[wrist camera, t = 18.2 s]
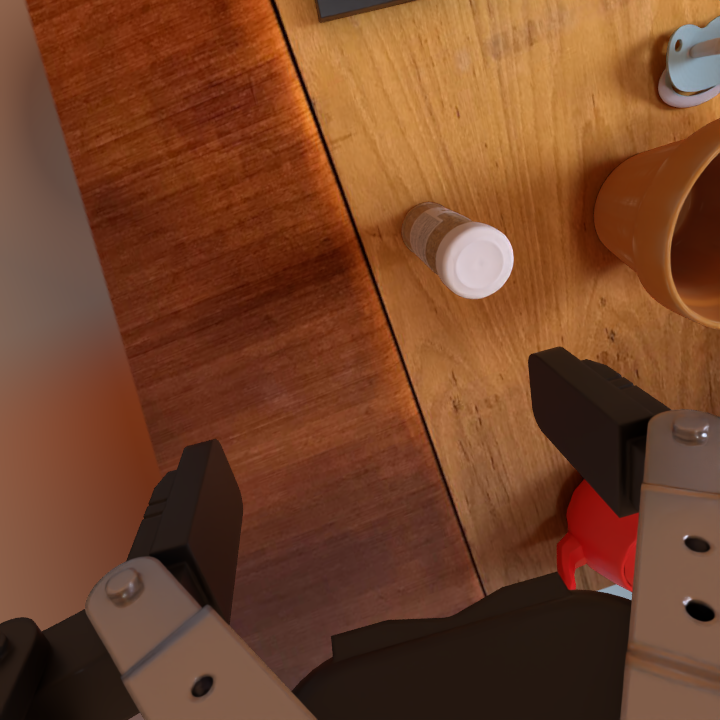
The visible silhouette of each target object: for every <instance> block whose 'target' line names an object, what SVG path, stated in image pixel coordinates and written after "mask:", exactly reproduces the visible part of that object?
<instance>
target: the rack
mask: <svg viewBox="0 0 720 720" xmlns="http://www.w3.org/2000/svg"><path fill="white" fill-rule="evenodd" d="M411 1H415V0H315V3H316V8H317V12H318V17H319V22H320V23H322V22H326V21H330V20H334V19H339V18H343V17H347V16H351V15H356V14H360V13H364V12H368V11H372V10H377V9H381V8H385V7H389V6H394V5H398V4H402V3H406V2H411Z"/></svg>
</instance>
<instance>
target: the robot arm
mask: <svg viewBox="0 0 720 720" xmlns="http://www.w3.org/2000/svg"><path fill="white" fill-rule="evenodd" d="M528 367H529V378H530V388H531V399H532V409H533V413H534V417H535V420H536V422H537V424H538V426H539V428H540V429H541V431H542V432H543V433H544V434H545V435H546V436H547V438H548V439H549V440H550V441H551V442H552V443H553V444H554V445H555V447H556V448H557V449H558V450H559V451H560V452H561V453H562V454H563V455H564V457H565V458H566V459H567V460H568V461H569V462H570V463H571V464H572V466H573V467H574V468H575V469H576V470H577V471H578V472H579V473H580V475H581V476H582V477H583V478H584V479H585V480H586V481H587V482H588V483H589V485H590V486H591V487H592V488H593V489H594V490H595V491H596V492H597V494H598V495H599V496H600V497H601V498H602V499H603V500H604V501H605V503H606V504H607V505H608V506H609V507H610V508H611V509H612V510H613V511H614V513H615V514H616V515H617V516H618V517H619V518H622V517H625V516H629V515H632V514H636V513H639V519H638V531H637V543H636V555H635V567H634V579H633V591H632V600H629V599H626V598H623V597H620V596H616V595H612V594H609V593H604V592H598V591H592V590H577V589H575V590H569V589H568V588H567V586H566V585H565V583H564V581H563V580H562V578H561V577H560V575H559V574H558V572H554V573H551V574H547V575H544V576H540V577H537V578H533V579H530V580H526V581H523V582H519V583H516V584H512V585H509V586H505V587H502V588H500V589H499V590H497V591H495V592H493V593H492V594H490V595H488V596H486V597H485V598H483V599H481V600H479V601H478V602H476V603H474V604H473V605H471V606H469V607H467V608H466V609H464V610H462V611H460V612H459V613H457V614H455V615H453V616H450V617H446V618H427V619H403V620H386V621H382V622H379V623H375V624H372V625H368V626H365V627H361V628H358V629H354V630H351V631H347V632H344V633H340V634H337V635H333V636H331V640H332V651H333V657H332V658H330V659H328V660H326V661H325V662H323V663H322V664H321V665H319V666H318V667H316V668H315V669H314V670H312V671H311V672H310V673H309V674H308V675H307V676H306V677H305V678H304V679H302V680H301V681H300V682H299V684H298V685H297V686H296V687H295V688H294V689H293V690H292V691H290V690H289V689H288V688H287V687H286V685H285V684H284V683H283V682H282V681H281V680H280V679H279V678H278V677H277V676H276V675H275V674H274V673H273V672H272V671H271V670H270V668H269V667H268V666H267V665H266V664H265V663H264V662H263V661H262V660H261V659H260V658H259V657H258V656H257V655H256V654H255V653H254V651H253V650H252V649H251V648H250V647H249V646H248V645H247V644H246V643H245V642H244V641H243V640H242V639H241V638H240V637H239V636H238V634H237V633H236V632H235V631H234V630H233V629H232V628H231V627H230V626H229V625H230V616H231V608H232V600H233V591H234V583H235V575H236V566H237V558H238V550H239V541H240V533H241V525H242V516H243V503H242V497H241V493H240V490H239V487H238V484H237V482H236V480H235V477H234V475H233V472H232V470H231V468H230V465H229V463H228V461H227V458H226V456H225V453H224V451H223V449H222V446H221V444H220V443H219V441H218V440H217V439H213V440H209V441H205V442H201V443H198V444H194V445H190V446H187V447H185V448H184V451H183V454H182V456H181V459H180V462H179V465H178V468H177V470H174V471H170V472H168V473H167V474H166V475H165V476H164V478H163V479H162V480H161V481H160V482H159V483H158V485H157V486H156V487H155V488H154V491H153V493H152V497H151V499H150V501H149V506H148V507H147V509H146V511H145V514H144V520H142V522H141V524H140V527H139V530H138V532H137V535H136V537H135V540H134V543H133V545H132V548H131V550H130V553H129V555H128V558H127V561H126V562H124V563H122V564H120V565H118V566H117V567H115V568H114V569H112V570H111V571H110V572H108V573H107V574H106V575H105V576H104V577H102V579H100V580H99V582H98V583H97V584H96V585H95V586H94V588H93V589H92V591H91V592H90V594H89V595H88V598H87V600H86V605H85V609H84V610H82V611H80V612H79V613H77V614H75V615H73V616H71V617H69V618H67V619H65V620H63V621H62V622H60V623H58V624H56V625H54V626H52V627H50V628H48V629H46V630H44V631H41V630H40V629H39V628H38V626H37V625H36V623H35V622H34V621H33V620H32V619H29V618H24V617H21V618H15V619H11V620H8V621H5V622H3V623H1V624H0V720H128V719H130V718H132V717H133V716H135V715H137V714H138V713H141V715H142V717H143V718H144V720H720V417H718V416H715V415H713V414H710V413H706V412H702V411H697V410H685V409H680V410H671V409H669V408H668V407H667V406H665V405H664V404H662V403H661V402H659V401H658V400H656V399H655V398H653V397H652V396H651V395H649V394H648V393H646V392H645V391H643V390H642V389H640V388H639V387H637V386H634V385H633V383H632V382H630V381H629V380H627V379H626V378H624V377H623V378H622V377H621V375H620V374H618V373H617V372H616V371H614V370H613V369H611V368H610V367H608V366H607V365H604V364H600V363H597V362H594V361H591V360H588V359H585V360H582V361H580V360H579V359H578V358H576V357H575V356H574V355H572V354H571V353H570V352H568V351H567V350H565V349H564V348H563V347H555V348H552V349H548V350H544V351H541V352H537V353H533V354H531V355H530V356H529V359H528Z"/></svg>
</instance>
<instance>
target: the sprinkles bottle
mask: <svg viewBox="0 0 720 720" xmlns="http://www.w3.org/2000/svg"><path fill="white" fill-rule="evenodd" d="M401 233H402V238H403V241H404V243H405V245H406V246H407V247H408V249H409V250H411V251H412V252H414V253H415V254H416V255H417V256H418V257H419V258H420V259H421V260H422V261H423V262H424V263H425V264H426V265H427V266H428V267H429V268H430V269H431V270H432V271H433V272H434V273H436V274H437V275H439V277H440V279H441V281H442V282H443V283H444V284H445V285H446V286H447V287H448V288H449V289H450V290H451V291H453V292H454V293H455V294H457V295H459V296H461V297H464V298H468V299H480V298H484V297H487V296H489V295H491V294H493V293H495V292H496V291H497V290H499V289H500V288H501V287H502V286H503V285H504V283H505V282H506V281H507V279H508V277H509V276H510V273H511V271H512V267H513V262H514V255H513V250H512V246H511V244H510V242H509V240H508V239H507V237H506V236H505V235H504V234H503V233H502V232H500V231H499V230H497V229H495V228H494V227H491V226H489V225H487V224H484V223H480V222H473V221H471V220H470V219H468V218H466V217H464V216H463V215H460V214H458V213H456V212H454V211H452V210H449V209H447V208H445V207H443V206H442V205H440V204H438V203H433V202H425V203H421V204H419V205H417V206H415V207H414V208H412V209H411V210H410V211H409V212H408V213H407V215H406V217H405V219H404V221H403V224H402V232H401Z"/></svg>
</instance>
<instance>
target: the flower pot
mask: <svg viewBox="0 0 720 720" xmlns="http://www.w3.org/2000/svg"><path fill="white" fill-rule="evenodd" d="M594 224H595V229H596V233H597V235H598V237H599V239H600V240H601V242H602V243H603V244H604V245H605V246H606V247H607V248H608V249H609V250H610V251H611V252H612V253H613V254H614V255H616V256H617V257H618V258H619V259H620V260H622V261H623V262H624V263H625V264H626V265H628V266H629V267H630V268H631V269H633V270H634V271H635V272H636V273H637V275H638V277H639V279H640V282H641V283H642V285H643V287H644V288H645V289H646V291H647V292H648V293H649V294H650V295H651V297H653V298H654V299H655V300H656V301H657V302H658V303H660V304H661V305H663V306H664V307H666V308H668V309H670V310H671V311H673V312H675V313H677V314H679V315H681V316H683V317H685V318H688V319H690V320H692V321H694V322H696V323H698V324H701V325H703V326H706V327H710V328H714V329H720V118H719V119H717V120H715V121H713V122H711V123H709V124H707V125H706V126H704V127H702V128H701V129H699V130H698V131H696V132H694V133H693V134H692V135H691V136H689V137H688V138H687V139H684V140H680V141H677V142H674V143H670V144H667V145H664V146H661V147H658V148H655V149H652V150H649V151H646V152H643V153H640V154H637V155H635V156H633V157H631V158H629V159H627V160H626V161H624V162H623V163H621V164H620V165H619V166H618V167H616V168H615V169H614V170H613V172H612V173H611V174H610V175H609V176H608V178H607V179H606V180H605V182H604V184H603V185H602V187H601V189H600V191H599V193H598V196H597V199H596V203H595V208H594Z"/></svg>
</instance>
